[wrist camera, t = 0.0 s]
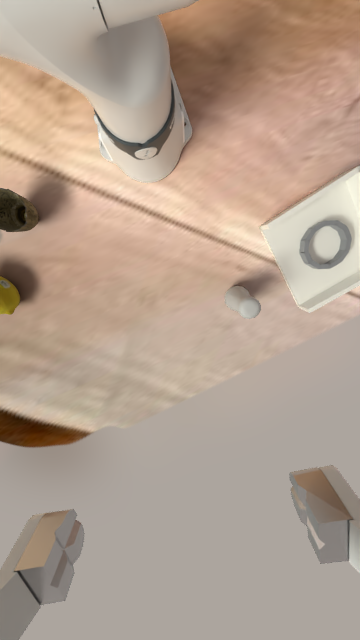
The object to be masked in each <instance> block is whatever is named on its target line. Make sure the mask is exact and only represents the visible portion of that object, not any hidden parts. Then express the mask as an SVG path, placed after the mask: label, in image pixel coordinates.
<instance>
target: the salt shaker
mask: <svg viewBox="0 0 360 640" xmlns="http://www.w3.org/2000/svg"><path fill="white" fill-rule="evenodd" d="M225 303H226V305H227V307H229V308H230V309H232V310H234V311H238V312H239V314H240V315H241V316H242V317H244V318H247V319H251V318H255V317H256V316H257V315H258V314H259V312H260V310H261V305H260V303H259V301H258V300H257V299H256V298H254V297H251V296H250V294H249V292H248V291H247V289H245V288H244V287H242V286H234V287H231V288H230V289H229V290H228V291H227V292H226V294H225Z"/></svg>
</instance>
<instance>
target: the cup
mask: <svg viewBox="0 0 360 640" xmlns="http://www.w3.org/2000/svg"><path fill="white" fill-rule="evenodd" d="M38 221H39V216H38V213H37V211H36V209H35V207H34V206H33V204H32V203H31V202H29V201H28V200H27V199H25V198H24V197H22V196H20V195H18V194H16V193H15V192H13V191H11V190H9V189H7V190H6V189H3V188H0V229H2V230H6V232H21V231H28V230H31V229H32V228H34V227H35V226H36V224H37V223H38Z"/></svg>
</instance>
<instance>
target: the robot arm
mask: <svg viewBox="0 0 360 640" xmlns="http://www.w3.org/2000/svg"><path fill="white" fill-rule="evenodd" d="M197 1H198V0H0V57H4V58H8V59H11V60H15V61H18V62H21V63H24V64H27V65H29V66H32V67H34V68H37V69H39V70H41V71H43V72H45V73H47V74H49V75H51V76H53V77H55V78H57V79H59V80H61V81H63V82H64V83H66V84H68V85H70V86H71V87H73V88H75V89H76V90H78V91H79V92H81V93H82V94H83V95H84V96H85V97H86V98H87V99H88V101H89V102H90V103H91V105H92V106H93V108H94V111H95V114H94V120H95V123H96V125H97V126H98V136H99V146H100V153H101V155H102V157H103V158H104V159H105V160H107V161H109V162H111V163H113V164H116V165H117V166H118V167H119V168H120V169H121V170H122V171H123V172H124V173H125V174H126V175H127V176H129V177H130V178H132V179H134V180H136V181H139V182H144V183H151V182H156V181H159V180H161V179H163V178H165V177H166V176H167V175H169V174H170V173H171V171H172V170H173V169H174V168H175V166H176V164H177V162H178V160H179V157H180V154H181V151H182V149H183V147H184V146H185V145H186V144H187V142H188V141H189V140H190V138H191V136H192V127H191V124H190V121H189V118H188V115H187V112H186V109H185V107H184V104H183V101H182V98H181V95H180V92H179V89H178V86H177V83H176V81H175V78H174V75H173V72H172V69H171V66H170V51H169V44H168V40H167V36H166V33H165V30H164V27H163V25H162V23H161V21H160V19H159V17H158V15H160V14H164V13H167V12H171V11H174V10H178V9H181V8H185V7H188V6H190V5H192V4H193V3H195V2H197ZM184 124H186V126H185V127H184ZM289 475H290V481H291V483H292V485H293V486H292V488H291V495H292V499H293V502H294V506H295V508H296V511H297V513H298V515H299V518H300V520H301V522H302V523H304V524H305V525H306V526H307V528H308V538H309V540H310V542H311V544H312V546H313V548H314V551H315V553H316V555H317V557H318V559H319V561H320V564H322V563H332V562H341V561H349V563H350V564H351V565H352V566H353V567H354V568H355V569H356V570H357V571H358V572H359V573H360V499H359V498H358V496H357V495H356V494H355V492H354V491H353V490H352V489H351V487H350V486H349V484H348V483H347V482H346V480H345V479H344V477H343V476H342V475H341V473H340V472H339V471H338V469H337V468H336V467H334V466H333V465H330V466H325V467H320V468H317V467H316V468H311V469H305V470H300V471H294V472H290V474H289ZM76 516H77V514H76V512H75V510H74V509H71V510H65V511H57V512H51V513H44V514H37V515H33V516H32V517H31V518H30V519H29V520H28V522H27V523H26V525H25V527H24V529H23V531H22V532H21V534H20V536H19V538H18V539H17V541H16V543H15V545H14V546H13V548H12V550H11V552H10V554H9V556H8V557H7V559H6V561H5V562H4V564H3V566H2V568H1V570H0V640H19V639H20V637H21V636H22V634H23V633H24V631H25V630H26V628H27V627H28V625H29V624H30V622H31V621H32V619H33V618H34V616H35V615H36V613H37V612H38V610H39V609H40V605H44V604H50V603H55V602H61V601H65V600H66V597H67V594H68V591H69V588H70V585H71V581H72V578H73V575H74V568H73V564H74V563H75V561H76V560H77V559H78V558H79V556H80V554H81V550H82V547H83V542H84V529H83V526H82V524H81V523H80V522H79V521H77V520H75V519H76Z"/></svg>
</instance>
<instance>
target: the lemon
mask: <svg viewBox="0 0 360 640" xmlns="http://www.w3.org/2000/svg"><path fill="white" fill-rule="evenodd" d="M19 303H20V296H19V293H18V290H17V289H16V287H15V286H14V285H13V284H12V283H11V282H10V281H8V280H7V279H5V278H3V277H1V276H0V314H9V315H10V314H12V313H13V312H14V310H15V308H16V307H17V306H18V305H19Z"/></svg>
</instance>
